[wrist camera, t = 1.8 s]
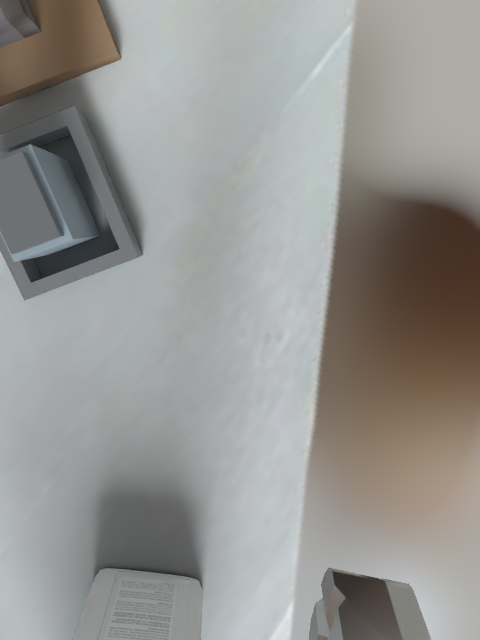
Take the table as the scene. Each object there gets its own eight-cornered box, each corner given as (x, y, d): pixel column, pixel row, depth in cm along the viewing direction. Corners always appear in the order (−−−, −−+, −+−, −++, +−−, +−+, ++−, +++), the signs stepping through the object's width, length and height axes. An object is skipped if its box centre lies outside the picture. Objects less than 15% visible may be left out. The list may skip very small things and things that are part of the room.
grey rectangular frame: (36, 294, 37) (24, 300, 34) (-29, 157, 34) (-48, 152, 32) (142, 254, 36) (137, 257, 34) (84, 114, 34) (74, 105, 32)
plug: (52, 253, 36) (8, 263, 28) (18, 178, 35) (-39, 166, 27) (100, 235, 36) (69, 239, 28) (67, 159, 35) (25, 142, 27)
